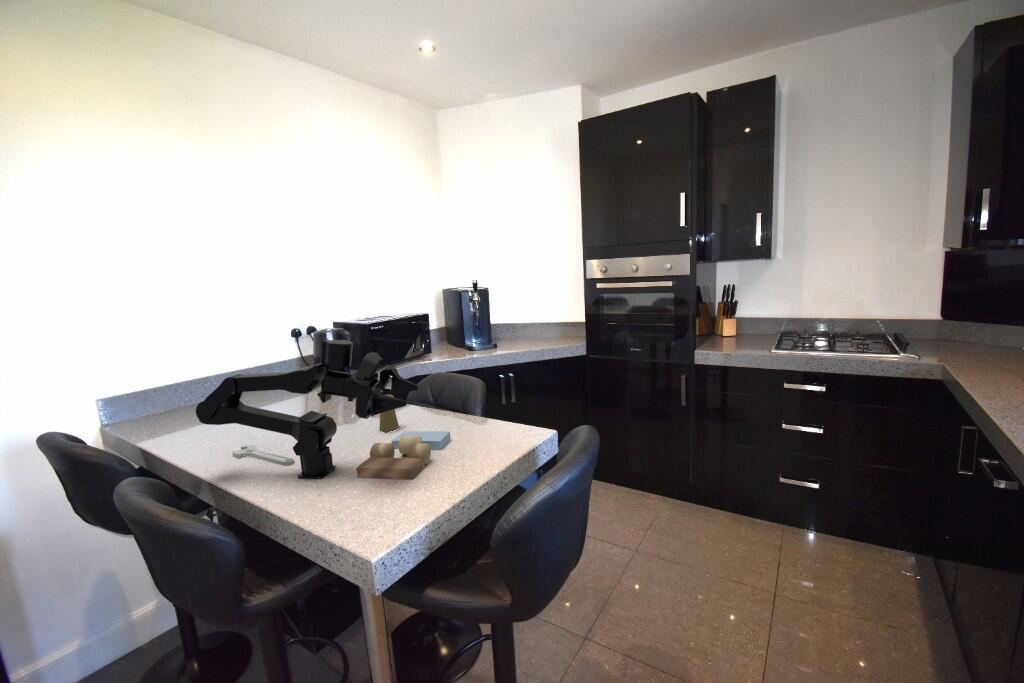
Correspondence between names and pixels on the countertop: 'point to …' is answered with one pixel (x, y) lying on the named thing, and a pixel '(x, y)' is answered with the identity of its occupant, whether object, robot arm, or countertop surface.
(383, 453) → the wooden tray with rolls
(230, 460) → the countertop surface
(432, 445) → the light blue block
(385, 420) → the cork
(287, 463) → the adjustable wrench
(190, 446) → the countertop surface
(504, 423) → the countertop surface
